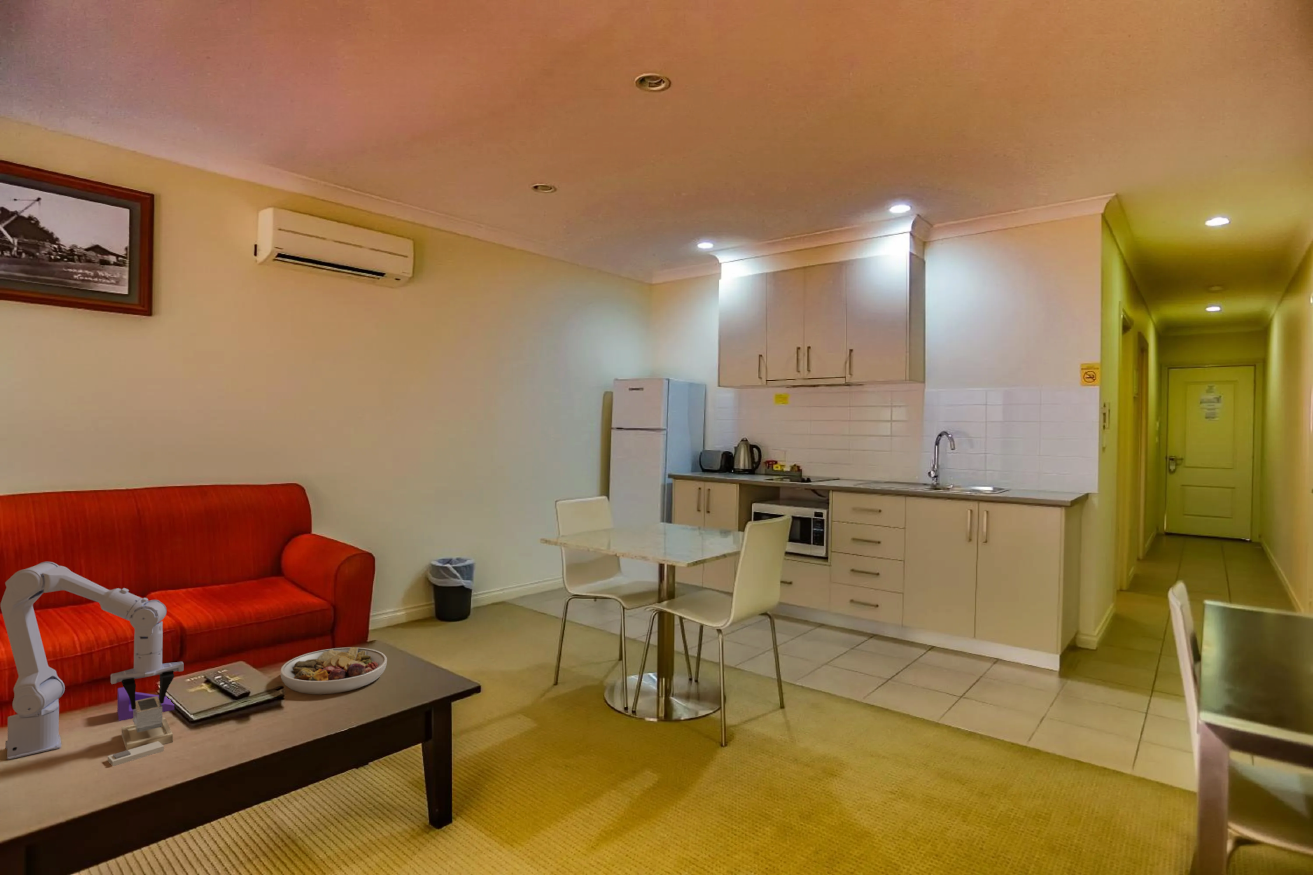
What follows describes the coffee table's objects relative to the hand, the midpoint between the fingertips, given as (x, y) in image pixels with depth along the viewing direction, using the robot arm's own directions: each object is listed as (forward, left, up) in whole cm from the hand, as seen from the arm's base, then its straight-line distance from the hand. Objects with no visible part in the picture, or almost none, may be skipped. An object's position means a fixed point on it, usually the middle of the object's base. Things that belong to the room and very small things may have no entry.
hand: (147, 704), depth 172 cm
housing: (0, 0, -5) cm, 5 cm away
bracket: (+2, +19, -9) cm, 21 cm away
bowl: (+49, +13, -9) cm, 51 cm away
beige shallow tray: (0, 0, -8) cm, 8 cm away
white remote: (-3, -9, -9) cm, 13 cm away
